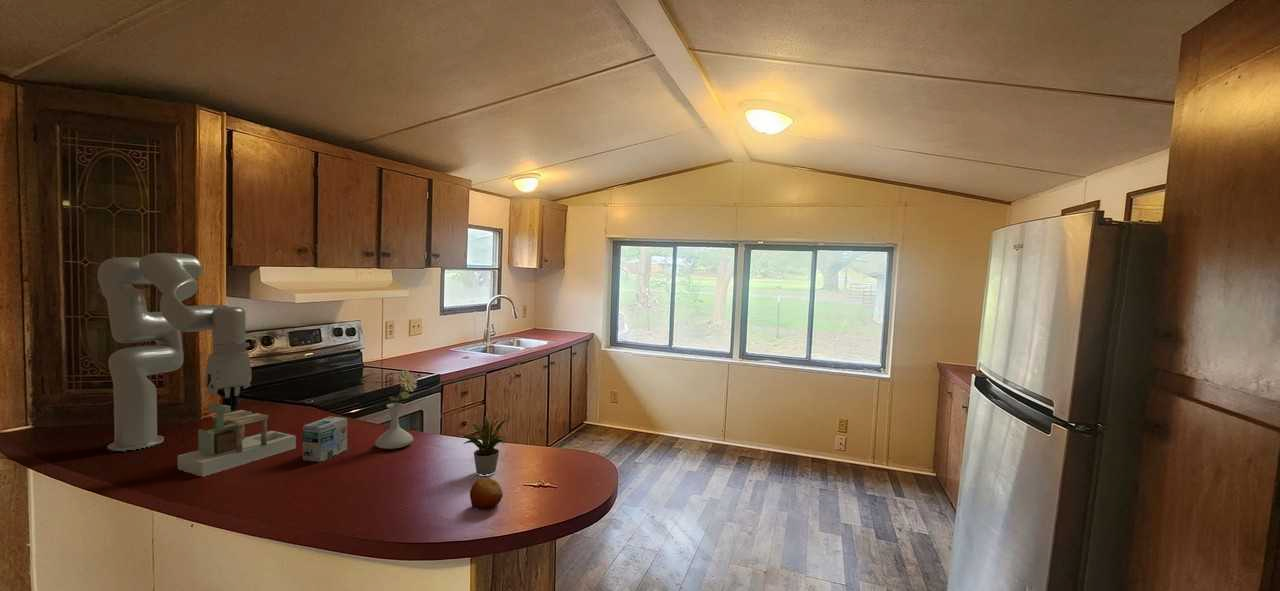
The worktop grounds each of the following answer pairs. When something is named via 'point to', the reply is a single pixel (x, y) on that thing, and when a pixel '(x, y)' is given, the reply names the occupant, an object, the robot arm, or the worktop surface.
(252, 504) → the worktop surface
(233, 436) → the block
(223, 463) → the white rectangular tray
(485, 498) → the fruit
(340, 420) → the light bulb box
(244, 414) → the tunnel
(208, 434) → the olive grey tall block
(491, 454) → the house plant
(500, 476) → the worktop surface
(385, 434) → the flower in vase
